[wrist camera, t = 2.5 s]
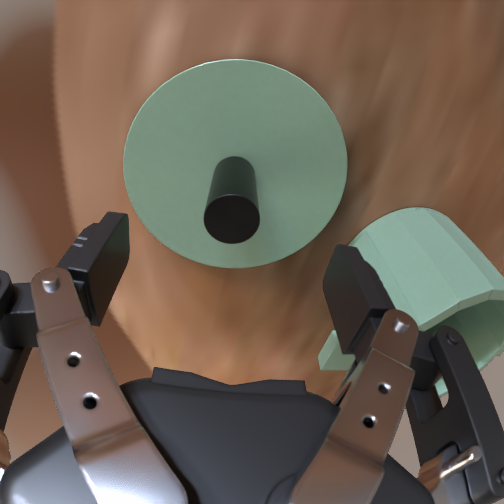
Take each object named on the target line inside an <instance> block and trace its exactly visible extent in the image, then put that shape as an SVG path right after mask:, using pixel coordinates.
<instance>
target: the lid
mask: <svg viewBox="0 0 504 504" xmlns="http://www.w3.org/2000/svg"><path fill="white" fill-rule="evenodd" d="M123 168H124V179H125V185H126V190H127V193H128V196H129V199H130V202H131V204H132V206H133V208H134V210H135V212H136V214H137V215H138V217H139V218H140V220H141V221H142V223H143V224H144V226H145V227H146V228H147V229H148V230H149V231H150V233H151V234H152V235H153V236H154V237H156V238H157V239H158V240H159V241H160V242H161V243H162V244H164V245H165V246H166V247H168V248H169V249H171V250H172V251H174V252H176V253H178V254H179V255H181V256H183V257H185V258H188V259H190V260H192V261H195V262H198V263H202V264H205V265H209V266H214V267H221V268H249V267H256V266H261V265H265V264H269V263H272V262H275V261H278V260H281V259H283V258H285V257H287V256H289V255H291V254H293V253H295V252H296V251H298V250H299V249H301V248H303V247H304V246H305V245H307V244H308V243H309V242H310V241H312V240H313V239H314V238H315V237H316V236H317V235H318V234H319V233H320V232H321V231H322V230H323V229H324V227H325V226H326V225H327V223H328V222H329V221H330V219H331V218H332V216H333V214H334V213H335V211H336V209H337V207H338V205H339V203H340V200H341V198H342V195H343V191H344V188H345V184H346V177H347V169H348V167H347V150H346V145H345V140H344V137H343V133H342V130H341V127H340V125H339V123H338V121H337V119H336V117H335V115H334V113H333V112H332V110H331V109H330V107H329V106H328V104H327V103H326V102H325V100H324V99H323V98H322V97H321V96H320V95H319V94H318V93H317V92H316V91H315V90H314V89H313V88H312V87H311V86H309V85H308V84H307V83H306V82H304V81H303V80H302V79H300V78H298V77H297V76H295V75H293V74H292V73H290V72H288V71H286V70H283V69H281V68H279V67H276V66H274V65H270V64H266V63H262V62H258V61H252V60H242V59H232V60H219V61H214V62H208V63H204V64H201V65H198V66H195V67H192V68H190V69H188V70H186V71H184V72H182V73H180V74H178V75H176V76H174V77H173V78H171V79H170V80H168V81H167V82H166V83H164V84H163V85H161V86H160V87H159V88H158V89H157V90H156V91H155V92H154V93H153V94H152V95H151V96H150V97H149V98H148V100H147V101H146V102H145V103H144V105H143V106H142V107H141V109H140V110H139V112H138V114H137V115H136V117H135V119H134V121H133V123H132V125H131V128H130V130H129V133H128V136H127V140H126V144H125V149H124V159H123Z"/></svg>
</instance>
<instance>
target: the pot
mask: <svg viewBox="0 0 504 504" xmlns="http://www.w3.org/2000/svg"><path fill="white" fill-rule="evenodd" d="M348 246H353V247H357V248H358V250H359V251H360V253H361V255H362V257H363V259H364V261H367V262H368V263H369V264H370V265H371V266H372V267H373V268H374V269H375V270H376V272H377V274H378V276H379V277H380V280H381V281H382V283H383V285H384V287H385V289H386V290H387V292H388V294H389V296H390V298H391V300H392V302H393V304H394V306H395V308H396V309H398V310H401V311H404V312H406V313H407V314H409V315H410V316H411V317H412V318H413V319H414V320H415V321H416V323H417V325H418V328H419V330H420V331H423V332H427V333H430V334H433V335H434V333H435V332H436V330H437V329H438V328H439V327H440V326H443V325H446V326H450V327H452V328H454V329H455V330H456V331H458V332H459V333H460V334H461V336H462V337H463V339H464V340H465V342H466V344H467V346H468V348H469V350H470V352H471V354H472V356H473V359H474V361H475V363H476V365H477V367H478V369H479V371H481V370H483V369H484V368H485V367H486V366H487V365H488V364H489V363H490V362H491V361H492V360H493V359H494V357H496V356H500V355H501V354H502V353H503V352H504V278H503V276H502V275H501V274H500V273H499V272H498V270H497V269H496V268H495V267H494V266H493V265H492V263H491V262H490V261H489V260H488V259H487V258H486V257H485V255H484V254H483V253H482V252H481V251H480V250H479V249H478V248H477V247H476V245H475V244H474V243H473V242H472V241H471V240H470V239H469V238H468V237H467V236H466V235H465V234H464V233H463V232H462V231H461V230H460V229H459V228H458V227H457V226H456V225H455V224H454V223H453V222H452V221H451V220H450V219H449V218H448V217H447V216H446V215H443V214H442V213H440V212H438V211H436V210H433V209H429V208H421V207H414V208H406V209H401V210H397V211H395V212H392V213H389V214H387V215H385V216H383V217H381V218H379V219H377V220H376V221H374V222H373V223H371V224H370V225H368V226H367V227H366V228H365V229H363V230H362V231H361V232H360V233H359V234H358V235H357V236H356V237H355V238H354V239H353V240H352V241H351V242H350V243H349V245H348ZM354 360H355V355H342V351H341V348H340V344H339V341H338V337H337V334H336V331H334V330H333V331H332V332H331V334H330V336H329V337H328V339H327V341H326V343H325V345H324V346H323V348H322V350H321V352H320V353H319V355H318V361H319V366H320V370H349V368H350V366H351V364H352V363H353V361H354ZM435 386H436V389H437V392H438V395H439V398H440V397H442V396H444V395H445V394H447V393H448V390H447V388H446V385H445V382H444V380H443V377H441V378H440V379H439V381H438V382H437V383H436V384H435ZM404 409H406V406H405V408H404Z"/></svg>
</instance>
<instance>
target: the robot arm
mask: <svg viewBox="0 0 504 504" xmlns="http://www.w3.org/2000/svg"><path fill="white" fill-rule="evenodd" d="M129 253H130V245H129V218H128V215H127V214H125V213H117V212H107V213H106V215H105V216H104V217H103V219H102V220H101V221H100V222H99V223H93V224H91V225H90V226H88V227H87V228H85V229H84V230H83V231H82V232H81V234H80V235H79V236H78V239H76V240H75V241H74V243H73V246H71V247H70V248H69V250H68V251H67V252H66V254H65V255H64V256H63V258H62V259H61V260H60V262H59V263H58V265H57V266H56V267H50V268H46V269H44V270H41V271H40V272H38V273H37V274H36V275H35V276H34V277H33V279H32V281H31V283H17V284H12V282H11V279H10V276H9V274H8V273H6V272H5V271H1V270H0V504H492V503H494V502H497V501H498V500H501V499H503V498H504V431H503V428H502V425H501V423H500V420H499V417H498V414H497V412H496V409H495V407H494V404H493V402H492V399H491V397H490V394H489V392H488V389H487V387H486V385H485V383H484V380H483V378H482V376H481V374H480V371H479V369H478V367H477V365H476V363H475V361H474V359H473V356H472V354H471V352H470V350H469V348H468V346H467V344H466V342H465V340H464V339H463V337H462V336H461V334H460V333H459V332H458V331H456V330H455V329H454V328H452V327H450V326H446V325H443V326H440V327H439V328H438V329H437V330H436V332H435V333H434V335H433V334H430V333H427V332H423V331H420V330H419V328H418V325H417V323H416V321H415V320H414V319H413V318H412V317H411V316H410V315H409V314H407V313H406V312H404V311H401V310H398V309H396V308H395V306H394V304H393V302H392V300H391V298H390V296H389V294H388V292H387V290H386V289H385V287H384V285H383V283H382V281H381V280H380V277H379V276H378V274H377V272H376V270H375V269H374V268H373V267H372V266H371V265H370V264H369V263H368V262H367V261H364V259H363V257H362V255H361V253H360V251H359V250H358V248H357V247H353V246H347V245H341V244H339V245H337V246H336V248H335V250H334V253H333V255H332V258H331V260H330V263H329V265H328V268H327V270H326V273H325V276H324V279H323V291H324V294H325V298H326V301H327V304H328V307H329V310H330V314H331V317H332V320H333V324H334V327H335V330H336V334H337V337H338V341H339V344H340V348H341V351H342V355H355V360H354V361H353V363H352V364H351V366H350V368H349V370H348V372H347V373H346V375H345V377H344V379H343V380H342V382H341V384H340V386H339V387H338V389H337V391H336V393H335V394H334V396H333V398H332V399H331V401H328V400H327V399H325V398H323V397H321V396H319V395H316V394H313V393H311V392H307V391H306V386H305V381H298V380H270V379H269V380H263V381H257V382H251V383H245V384H238V385H228V384H224V383H221V382H218V381H215V380H212V379H209V378H206V377H203V376H200V375H197V374H194V373H192V372H184V371H177V370H170V369H164V368H157V367H154V370H153V375H152V378H143V379H137V380H134V381H130V382H127V383H125V384H122V385H120V386H119V385H118V383H117V381H116V379H115V377H114V376H113V373H112V371H111V369H110V367H109V365H108V363H107V361H106V359H105V357H104V355H103V352H102V350H101V348H100V345H99V343H98V341H97V339H96V336H95V334H94V332H93V329H92V327H91V325H94V326H99V327H100V325H101V323H102V320H103V318H104V315H105V313H106V311H107V308H108V306H109V304H110V301H111V299H112V297H113V294H114V292H115V290H116V288H117V285H118V283H119V281H120V279H121V277H122V274H123V272H124V270H125V268H126V266H127V263H128V260H129ZM32 347H39V351H40V354H41V358H42V362H43V365H44V370H45V373H46V376H47V380H48V383H49V386H50V389H51V392H52V396H53V398H54V401H55V404H56V407H57V410H58V413H59V415H60V418H61V421H62V423H63V426H62V427H61V428H60V429H58V430H57V431H56V432H54V433H53V434H51V435H50V436H49V437H47V438H46V439H45V440H43V441H42V442H40V443H39V444H37V445H36V446H35V447H33V448H32V449H30V450H29V451H27V452H26V453H25V454H23V455H22V456H20V457H19V458H17V459H16V460H15V461H13V462H12V463H11V464H10V463H9V461H10V458H11V455H10V452H9V443H8V439H7V437H6V435H5V433H4V429H5V425H6V421H7V418H8V414H9V411H10V407H11V405H12V401H13V398H14V395H15V392H16V389H17V386H18V384H19V381H20V378H21V375H22V373H23V370H24V367H25V365H26V362H27V360H28V357H29V355H30V352H31V350H32ZM441 377H443V380H444V382H445V385H446V388H447V390H448V394H449V399H448V402H447V404H446V406H445V407H444V408H443V407H442V404H441V401H440V398H439V395H438V392H437V389H436V386H435V384H436V383H437V382H438V381H439V379H440V378H441ZM405 406H406V409H407V413H408V417H409V420H410V424H411V428H412V432H413V436H414V440H415V445H416V448H417V453H418V457H419V462H420V467H421V468H420V470H419V475H418V478H415V477H414V476H413V475H412V474H410V473H409V472H408V471H407V470H406V469H405V468H404V467H402V466H401V465H400V464H399V463H398V462H397V461H396V460H394V459H393V458H392V457H391V456H390V455H389V454H388V451H389V449H390V447H391V444H392V441H393V439H394V436H395V434H396V431H397V428H398V426H399V423H400V420H401V417H402V414H403V411H404V408H405Z"/></svg>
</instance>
